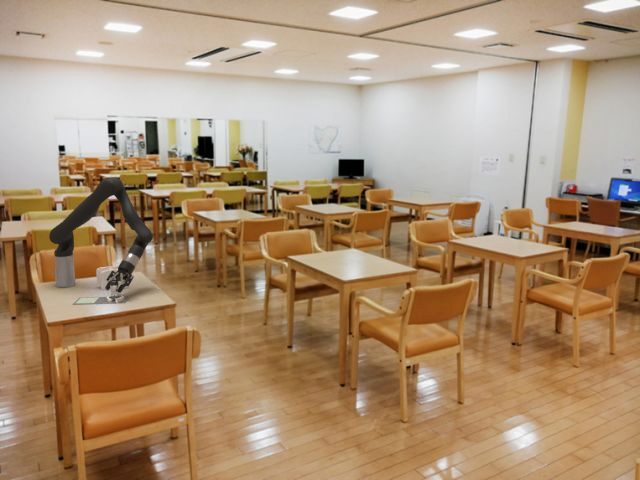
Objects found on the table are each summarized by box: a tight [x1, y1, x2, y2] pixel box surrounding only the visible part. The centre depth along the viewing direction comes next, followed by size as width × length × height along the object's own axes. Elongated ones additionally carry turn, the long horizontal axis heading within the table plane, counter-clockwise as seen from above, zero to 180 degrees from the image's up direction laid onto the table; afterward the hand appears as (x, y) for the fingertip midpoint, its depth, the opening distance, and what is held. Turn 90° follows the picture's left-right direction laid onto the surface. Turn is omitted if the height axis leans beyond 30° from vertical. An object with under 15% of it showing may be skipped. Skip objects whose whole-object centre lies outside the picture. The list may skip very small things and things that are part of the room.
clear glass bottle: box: [109, 280, 120, 301], centre depth 270 cm, size 4×4×10 cm
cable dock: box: [71, 294, 131, 306], centre depth 270 cm, size 25×12×3 cm, turn 97°
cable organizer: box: [95, 264, 129, 291], centre depth 294 cm, size 15×11×12 cm
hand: (112, 290), depth 269 cm, fingers open, 8 cm apart
